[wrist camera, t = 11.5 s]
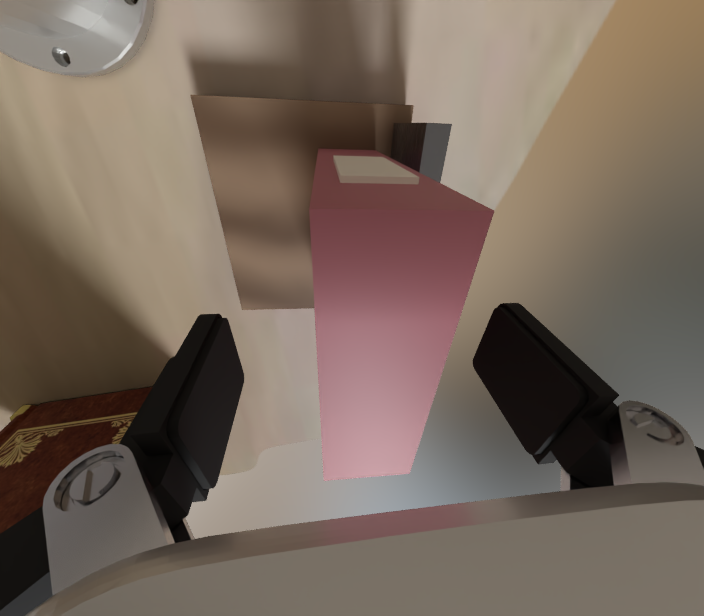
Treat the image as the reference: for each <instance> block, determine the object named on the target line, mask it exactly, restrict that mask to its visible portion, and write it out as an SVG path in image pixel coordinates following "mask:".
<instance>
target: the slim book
mask: <svg viewBox="0 0 704 616" xmlns="http://www.w3.org/2000/svg"><path fill="white" fill-rule="evenodd" d="M493 214H494V210H492V209H490V208H488V207H486V206H484V205H482V204H480V203H478V202H476V201H474V200H472V199H470V198H468V197H466V196H464V195H462V194H460V193H458V192H456V191H454V190H452V189H450V188H448V187H447V186H445V185H443V184H441V183H439V182H437V181H435V180H433V179H431V178H429V177H427V176H425V175H423V174H421V173H419V172H417V171H415V170H413V169H411V168H409V167H407V166H405V165H403V164H401V163H399V162H397V161H395V160H393V159H392V158H390V157H388V156H386V155H384V154H382V153H380V152H378V151H376V150H351V149H319V148H318V155H317V161H316V168H315V174H314V181H313V187H312V194H311V200H310V207H309V215H310V234H311V252H312V270H313V289H314V307H315V326H316V344H317V363H318V381H319V399H320V418H321V436H322V453H323V454H322V455H323V473H324V481H327V480H339V479H351V478H363V477H374V476H387V475H399V474H409V473H410V471H411V467H412V464H413V461H414V458H415V455H416V452H417V449H418V445H419V442H420V440H421V436H422V433H423V430H424V427H425V424H426V421H427V418H428V414H429V411H430V408H431V405H432V402H433V399H434V396H435V393H436V390H437V387H438V383H439V381H440V377H441V374H442V371H443V368H444V365H445V362H446V359H447V356H448V353H449V350H450V346H451V344H452V340H453V337H454V334H455V331H456V328H457V325H458V322H459V319H460V316H461V313H462V309H463V306H464V303H465V300H466V297H467V294H468V291H469V288H470V284H471V282H472V279H473V275H474V272H475V269H476V266H477V263H478V260H479V256H480V254H481V251H482V248H483V244H484V241H485V238H486V235H487V232H488V229H489V226H490V223H491V220H492V217H493Z"/></svg>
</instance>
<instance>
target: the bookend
mask: <svg viewBox="0 0 704 616" xmlns="http://www.w3.org/2000/svg"><path fill="white" fill-rule="evenodd" d="M451 126H452V124H440V123H394V127H393V137H392V147H391V157H390V158H392V159H393V160H395V161H397V162H399V163H401V164H403V165H405V166H407V167H409V168H411V169H413V170H415V171H417V172H419V173H421V174H423V175H425V176H427V177H429V178H431V179H433V180H435V181H437V182H439V183H440V181H441V176H442V171H443V166H444V161H445V156H446V151H447V146H448V141H449V136H450V131H451Z"/></svg>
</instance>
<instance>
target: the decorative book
mask: <svg viewBox="0 0 704 616" xmlns="http://www.w3.org/2000/svg"><path fill="white" fill-rule="evenodd" d="M151 389H152V387H147V388H141V389H134V390H128V391H121V392H115V393H108V394H102V395H95V396H88V397H82V398H75V399H69V400H62V401H56V402H49V403H42V404H40V405H39V406H36V405H23V406H22V407H21V408H19V409H18V410H17V411H16V412H15V413H14V414H13V415H12V416H11V417H10V419H11V422H10V423H9V424H8V425H7V426H6V427H5V428H4V429H3V430H2V431H1V432H0V534H1V533H2V532H4V531H5V530H7V529H8V528H10V527H11V526H13V525H14V524H16V523H17V522H19V521H20V520H22V519H23V518H25V517H26V516H28V515H29V514H31V513H32V512H34V511H35V510H37V509H38V508H40V507H41V506H43V501H44V496H45V494H46V492H47V490H48V488H49V486H50V484H51V483H52V482H53V481H54V479H55V478H56V477H57V476H58V474H59V473H60V472H61V471H62V470H64V469H65V468H66V467H67V466H68V465H69V464H70V463H71V462H73V461H74V460H76V459H77V458H79V457H80V456H82V455H83V454H85V453H87V452H89V451H91V450H93V449H95V448H97V447H101V446H105V445H109V444H119V443H120V441H121V439H122V438H123V436H124V434H125V433H126V431H127V429H128V427H129V426H130V424H131V422H132V421H133V419H134V417H135V416H136V414H137V412H138V411H139V409H140V407H141V406H142V404H143V402H144V401H145V399H146V397H147V396H148V394H149V392H150V391H151Z"/></svg>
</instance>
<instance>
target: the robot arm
mask: <svg viewBox="0 0 704 616" xmlns="http://www.w3.org/2000/svg"><path fill="white" fill-rule="evenodd" d="M154 1H155V0H138V2H137V4H135V1H134V0H0V52H2V53H4V54H6V55H7V56H9V57H11V58H13V59H15V60H17V61H19V62H22V63H24V64H27V65H30V66H32V67H35V68H37V69H40V70H43V71H48V72H52V73H57V74H61V75H68V76H77V77H92V76H100V75H105V74H108V73H110V72H112V71H114V70H117V69H119V68H121V67H122V66H123V65H125V64H126V63H127V62H128V61H129V60H130V59H132V58H133V57H134V56H135V55H136V53H137V51H138V50H139V48H140V47H141V45H142V44H143V42H144V40H145V39H146V36H147V33H148V30H149V27H150V24H151V21H152V18H153V10H154ZM69 57H70V60H69ZM473 367H474V369H475V371H476V372H477V374H478V375H479V377H480V378H481V380H482V382H483V383H484V385H485V386H486V388H487V390H488V391H489V393H490V394H491V396H492V398H493V399H494V401H495V402H496V404H497V406H498V407H499V409H500V410H501V412H502V414H503V415H504V417H505V418H506V420H507V421H508V423H509V425H510V426H511V428H512V429H513V431H514V433H515V434H516V436H517V437H518V439H519V441H520V442H521V444H522V445H523V447H524V448H525V450H526V451H527V452H528V453H529V454H532V455H533V457H534V459H535V460H536V462H537V463H538V464H546V463H554V462H555V461H556V460H558V462H559V463H560V465H561V491H559V492H551V493H542V494H534V495H525V496H517V497H508V498H500V499H491V500H484V501H475V502H466V503H458V504H451V505H442V506H435V507H426V508H418V509H410V510H401V511H393V512H386V513H377V514H370V515H362V516H354V517H346V518H338V519H330V520H323V521H315V522H307V523H299V524H291V525H283V526H276V527H269V528H263V529H256V530H250V531H242V532H235V533H229V534H222V535H215V536H208V537H203V538H198V539H195V538H194V536H193V534H192V532H191V529H190V527H189V525H188V523H187V521H186V519H185V517H186V516H187V515H188V513H189V510H190V507H191V504H192V502H197V501H205V500H206V499H207V495H208V492H209V488H214V487H215V486H216V483H217V481H218V477H219V473H220V470H221V466H222V462H223V458H224V455H225V451H226V447H227V443H228V440H229V436H230V432H231V428H232V425H233V421H234V417H235V413H236V410H237V406H238V402H239V398H240V395H241V391H242V387H243V383H244V373H243V369H242V366H241V363H240V359H239V356H238V352H237V349H236V346H235V342H234V339H233V335H232V332H231V329H230V325H229V322H228V319H227V318H222V316H221V315H220V314H202V315H199V316H198V318H197V320H196V321H195V323H194V325H193V326H192V328H191V330H190V332H189V333H188V335H187V337H186V338H185V340H184V342H183V344H182V345H181V347H180V349H179V351H178V352H177V354H176V356H175V357H173V358H171V359H170V360H169V361H168V362H167V364H166V366H165V367H164V369H163V371H162V372H161V374H160V376H159V377H158V379H157V381H156V382H155V384H154V386H153V387H152V389H151V391H150V392H149V394H148V396H147V397H146V399H145V401H144V402H143V404H142V406H141V407H140V409H139V411H138V412H137V414H136V416H135V417H134V419H133V421H132V422H131V424H130V426H129V427H128V429H127V431H126V433H125V434H124V436H123V438H122V439H121V441H120V443H119V444H109V445H105V446H101V447H97V448H95V449H93V450H91V451H89V452H87V453H85V454H83V455H82V456H80V457H79V458H77V459H76V460H74V461H73V462H71V463H70V464H69V465H68V466H67V467H66V468H65V469H64V470H62V471H61V472H60V473H59V474H58V476H57V477H56V478H55V479H54V481H53V482H52V483H51V484H50V486H49V488H48V490H47V492H46V494H45V496H44V501H43V506H41V507H40V508H38V509H37V510H35V511H34V512H32V513H31V514H29V515H28V516H26V517H25V518H23V519H22V520H20V521H19V522H17V523H16V524H14V525H13V526H11V527H10V528H8V529H7V530H5V531H4V532H2V533H1V534H0V616H704V450H703V449H700V448H698V447H696V446H694V443H693V441H692V439H691V437H690V435H689V434H688V432H687V431H686V430H685V429H684V428H683V427H682V426H681V425H680V424H679V423H678V422H677V421H676V420H674V419H673V418H672V417H670V416H669V415H667V414H666V413H664V412H662V411H660V410H659V409H657V408H655V407H653V406H650V405H648V404H645V403H641V402H638V401H630V400H629V401H624V402H622V403H621V404H620V405H619V406H618V407H617V406H616V405H615V404H614V403H613V401H614V400H615V399H616V398H617V397H618V396H619V394H618V393H617V392H615V391H614V390H613V389H612V388H611V387H610V386H609V385H608V384H607V383H605V382H604V381H603V380H602V379H601V378H600V377H599V376H598V375H597V374H596V373H595V372H594V371H593V370H591V369H590V368H589V367H588V366H587V365H586V364H585V363H584V362H583V361H582V360H581V359H580V358H578V357H577V356H576V355H575V354H574V353H573V352H572V351H571V350H570V349H569V348H568V347H566V346H565V345H564V344H563V343H562V342H561V341H560V340H559V339H558V338H557V337H556V336H554V335H553V334H552V333H551V332H550V331H549V330H548V329H547V328H546V327H545V326H544V325H543V324H541V323H540V322H539V321H538V320H537V319H536V318H535V317H534V316H533V315H532V314H530V313H529V312H528V311H527V310H526V309H525V308H524V307H523V306H522V305H520V304H519V303H503V304H500V305H499V306H498V307H497V308H495V309H494V311H493V313H492V315H491V318H490V320H489V323H488V325H487V328H486V330H485V332H484V334H483V337H482V339H481V342H480V344H479V346H478V349H477V351H476V354H475V356H474V358H473Z"/></svg>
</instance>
